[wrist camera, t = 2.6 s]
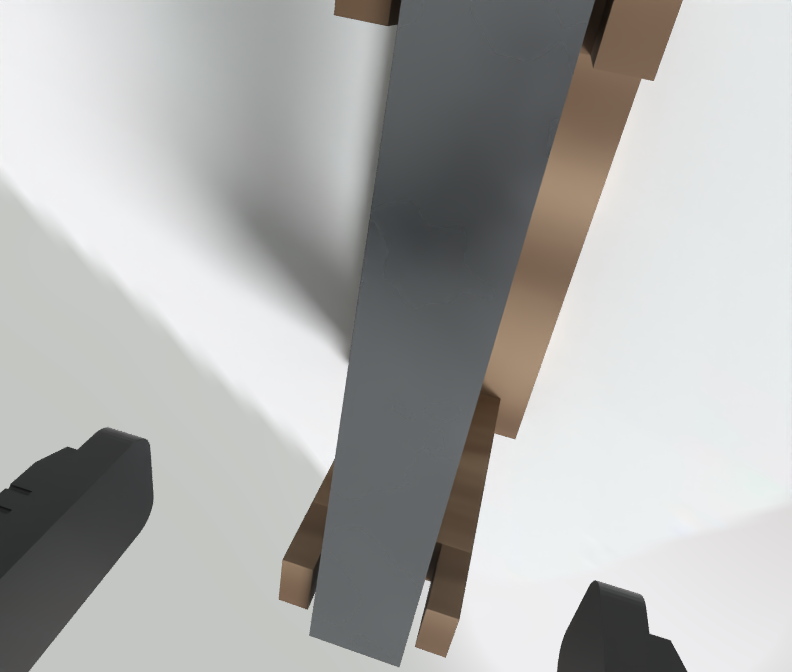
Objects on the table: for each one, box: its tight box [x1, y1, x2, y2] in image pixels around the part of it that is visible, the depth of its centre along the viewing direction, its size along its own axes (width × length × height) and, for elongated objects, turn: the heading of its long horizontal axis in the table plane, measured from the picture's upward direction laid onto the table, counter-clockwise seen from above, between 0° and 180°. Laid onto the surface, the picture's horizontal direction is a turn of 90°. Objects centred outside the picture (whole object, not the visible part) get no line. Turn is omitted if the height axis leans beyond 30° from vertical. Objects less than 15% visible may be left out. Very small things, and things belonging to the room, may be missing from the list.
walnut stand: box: [279, 0, 683, 657], centre depth 20 cm, size 19×8×13 cm, turn 170°
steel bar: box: [309, 0, 595, 667], centre depth 15 cm, size 20×3×3 cm, turn 170°
